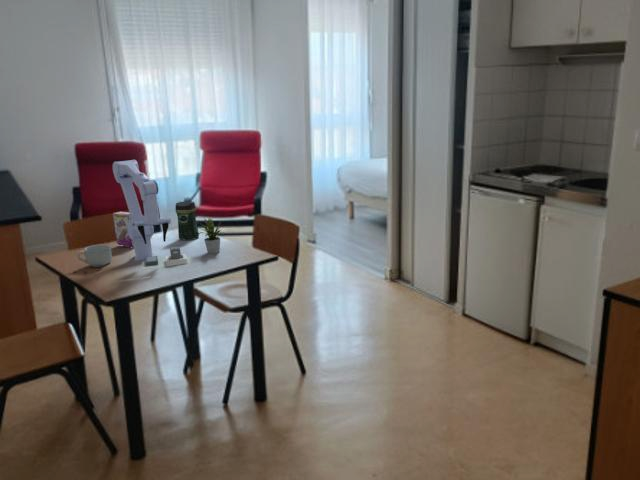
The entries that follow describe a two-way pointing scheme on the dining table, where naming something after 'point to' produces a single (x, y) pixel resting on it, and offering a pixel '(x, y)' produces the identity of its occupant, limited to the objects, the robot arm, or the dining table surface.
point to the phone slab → (151, 260)
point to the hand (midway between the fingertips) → (155, 242)
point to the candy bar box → (122, 228)
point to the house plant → (211, 237)
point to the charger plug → (175, 253)
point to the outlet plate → (168, 262)
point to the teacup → (96, 255)
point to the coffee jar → (187, 220)
